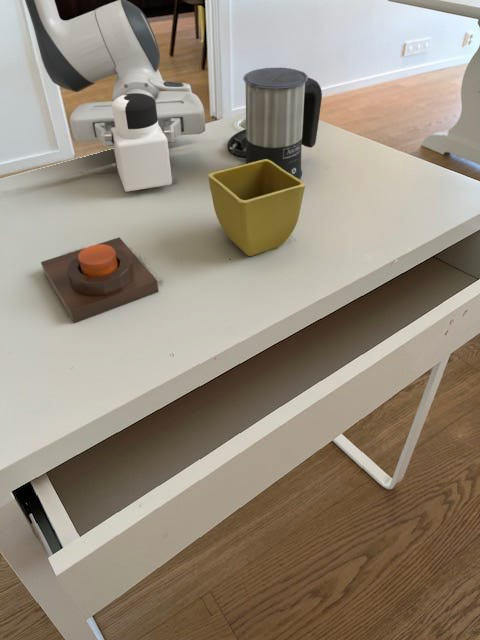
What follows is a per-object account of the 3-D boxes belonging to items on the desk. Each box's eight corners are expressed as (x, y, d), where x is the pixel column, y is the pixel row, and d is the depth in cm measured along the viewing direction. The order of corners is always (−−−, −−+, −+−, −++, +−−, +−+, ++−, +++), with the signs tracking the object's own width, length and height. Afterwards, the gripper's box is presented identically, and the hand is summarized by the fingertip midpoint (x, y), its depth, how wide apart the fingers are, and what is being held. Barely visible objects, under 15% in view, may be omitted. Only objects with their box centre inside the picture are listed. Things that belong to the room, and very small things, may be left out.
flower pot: (209, 236, 68) (206, 172, 62) (266, 219, 71) (267, 157, 65) (242, 270, 62) (241, 202, 56) (302, 249, 65) (307, 184, 59)
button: (76, 264, 58) (73, 251, 57) (109, 253, 59) (107, 240, 58) (88, 282, 55) (85, 268, 54) (123, 270, 57) (120, 257, 56)
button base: (44, 273, 62) (36, 249, 60) (121, 248, 66) (117, 224, 64) (74, 323, 55) (66, 298, 52) (158, 292, 59) (155, 267, 56)
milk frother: (285, 194, 76) (291, 90, 67) (197, 172, 82) (190, 73, 73) (322, 159, 86) (332, 63, 76) (241, 141, 92) (240, 50, 82)
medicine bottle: (162, 165, 82) (153, 86, 74) (172, 185, 77) (163, 102, 69) (118, 172, 80) (103, 92, 72) (125, 192, 75) (110, 109, 67)
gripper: (70, 90, 81) (59, 121, 70) (199, 82, 83) (207, 112, 72) (78, 129, 85) (70, 165, 75) (201, 122, 87) (209, 155, 77)
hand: (138, 139), depth 73 cm, fingers closed on medicine bottle, 7 cm apart
